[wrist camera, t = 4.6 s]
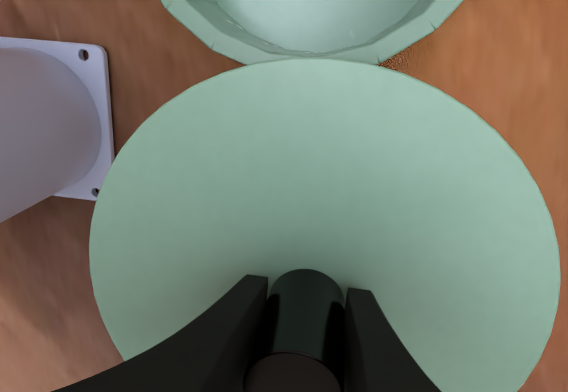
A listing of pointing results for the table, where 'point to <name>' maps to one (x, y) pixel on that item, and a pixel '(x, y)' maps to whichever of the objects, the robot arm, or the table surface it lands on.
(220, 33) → the pot
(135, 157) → the lid
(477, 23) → the table surface
